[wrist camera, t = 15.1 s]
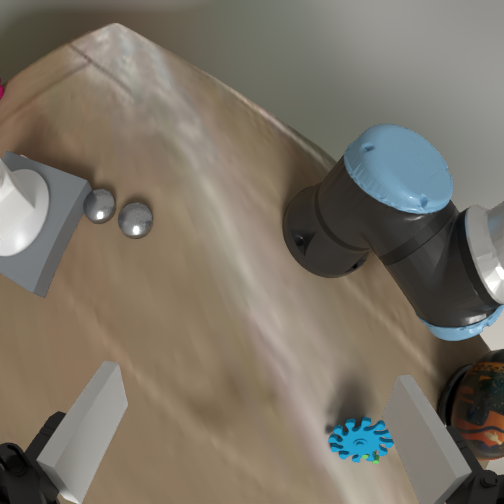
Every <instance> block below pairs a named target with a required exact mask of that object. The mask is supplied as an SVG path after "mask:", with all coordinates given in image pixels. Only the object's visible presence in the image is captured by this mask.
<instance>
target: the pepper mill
mask: <svg viewBox="0 0 504 504" xmlns="http://www.w3.org/2000/svg"><path fill="white" fill-rule="evenodd" d="M0 81H1V79H0ZM3 94H4V89H3V87H2V85H0V99H1V97H2V96H3Z"/></svg>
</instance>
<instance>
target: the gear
mask: <svg viewBox="0 0 504 504" xmlns="http://www.w3.org/2000/svg"><path fill="white" fill-rule="evenodd" d="M370 424H371V418H368V417H363V419H362V422H361V425H360V426H359V427H358V428H353V427H354V425H355V419H347V420H346V424H345V425H346V427H347V428H348V430H349V431H348V432H344V431H343V430H342V429H343V427H342V425H337V426H335V427H334V429H333V432H334V433H335V434H338V435H340V436H341V437H342V438H338V437H337V435H335V434H331V435H330V437H329V440H328V442H330V443H333V444H332V446H331V451H332V452H337V451H341V452H340V454H339V457H340V458H341V459H346V458H347V457H348V456H350V455H353V454H356V455H354V456H353V458H352V461H353V462H360V458H361V457H362V458H364V459H366V458H367V459H366V460H367V461H372V463H373V464H378V463H379V456H384V455H386V454H387V448H391V447H392V446H393V444H394V442H393V440H392V439H385V438H382V436H384V437H386V438H392V437H391V435H390V433H389V431H388V429H387V430H384V431H375V430H383V429H385V423H384V422H383V421H382V420H380V421H378V422H377V423H376V424H375V425H374V426H371V427H368V428H367V426H369V425H370ZM336 443H338V444H340V445H338V444H336ZM380 444H385V446H386V447H387V448H384V447H382V446H381V445H380ZM377 450H378V451H379V455H375V454H376V452H377Z"/></svg>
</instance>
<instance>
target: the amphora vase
mask: <svg viewBox="0 0 504 504" xmlns="http://www.w3.org/2000/svg"><path fill="white" fill-rule="evenodd" d="M438 417H439V418H440V420H441V421H442V423H443V424H444V426H445V427H447V426H452V427H454V428H455V429H456V430H458V431H459V432H460V434H461V435H462V437H463V438H464V441H465V442H466V443H467V445H468V447H469V448H470V449H471V451H472V453H473V454H474V456H475V457H476V459H477V460H495V459H499V458H502V457H504V349H501V350H495V351H491V352H489V353H487V354H485V355H484V356H482V357H481V358H479V359H478V360H477V361H476V362H475V363H474V364H469V365H464V366H462V367H461V368H459V369H458V370H457V371H456V372H455V373H454V374H453V375H452V376H451V378H450V380H449V381H448V383H447V384H446V386H445V389H444V391H443V393H442V397H441V400H440V404H439V411H438Z"/></svg>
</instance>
